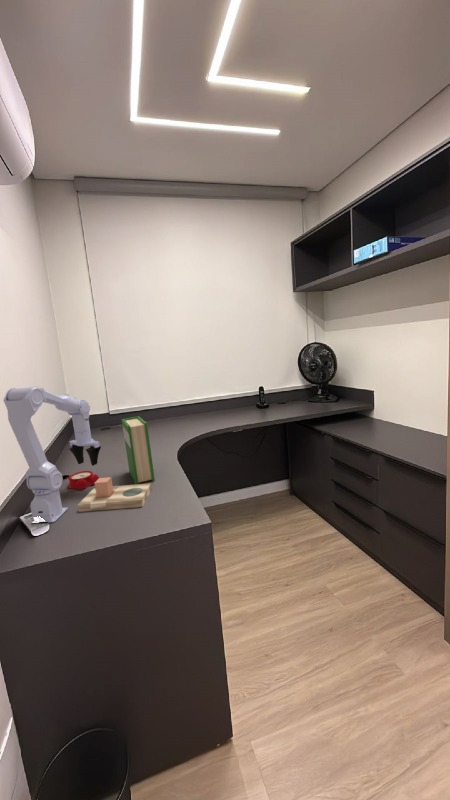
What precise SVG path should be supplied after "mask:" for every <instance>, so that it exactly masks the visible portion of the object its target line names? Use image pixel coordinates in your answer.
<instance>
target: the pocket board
mask: <svg viewBox="0 0 450 800" xmlns="http://www.w3.org/2000/svg"><path fill="white" fill-rule="evenodd" d="M152 491H153V488H152V483H151V482H150V483H149V482H148V483H138V484H125V485H115V486H114V485H113V492H114V493H113V494H112V495H111V497H106V498H97V495H96V489H95V487H93V488H92V489H91V491H90V492H89V493H88V494H86V496H85V497H84V498H83V499H82V500H81V501H80V502H79V503H77V510H78V513H79V512H80V513H81V512H93V511H106V510H108V511H109V510H118V509H119V510H121V509H129V508H131V509H132V508H141V507H144V505H145V502H146V501H147V499H148V497H149V496H150V494H151V492H152Z"/></svg>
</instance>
